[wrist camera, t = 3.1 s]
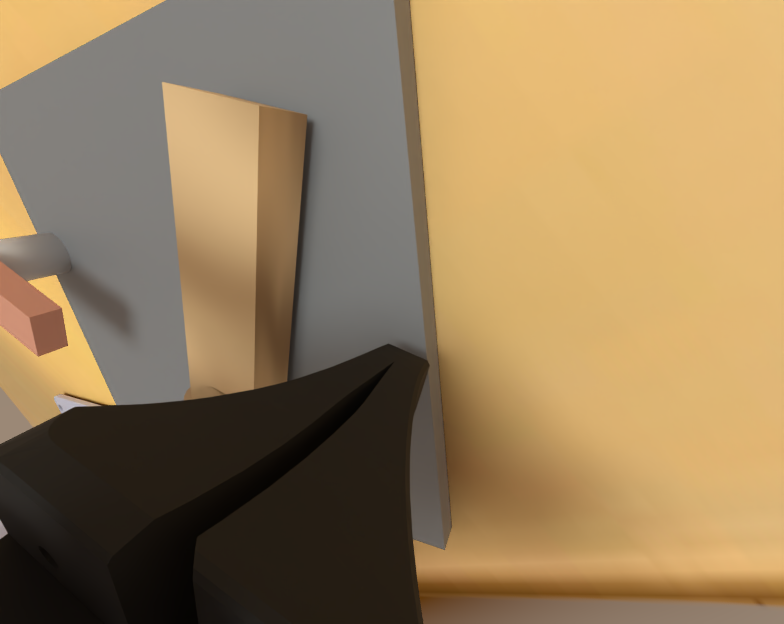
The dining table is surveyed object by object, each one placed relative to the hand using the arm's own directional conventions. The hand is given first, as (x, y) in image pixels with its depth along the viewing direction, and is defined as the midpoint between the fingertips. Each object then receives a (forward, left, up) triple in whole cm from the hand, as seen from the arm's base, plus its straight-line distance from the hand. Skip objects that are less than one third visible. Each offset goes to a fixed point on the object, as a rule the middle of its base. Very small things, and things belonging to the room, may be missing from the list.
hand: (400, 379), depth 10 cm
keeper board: (+1, +10, -2) cm, 10 cm away
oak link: (+2, +6, -1) cm, 6 cm away
